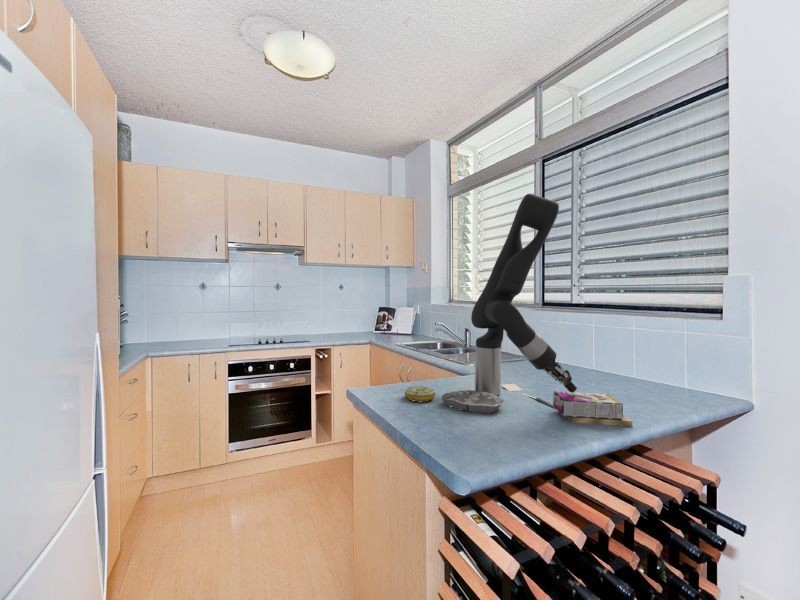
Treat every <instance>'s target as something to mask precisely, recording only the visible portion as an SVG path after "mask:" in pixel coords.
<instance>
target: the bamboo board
mask: <svg viewBox="0 0 800 600" xmlns="http://www.w3.org/2000/svg"><path fill="white" fill-rule="evenodd" d="M566 417H567V418H568V419H569V420H570V422H571V423H573V424H585V425H586V424H588V425H602V426H616V425H622V426H621V427H633V425H634V424H633V420H631V419H630V418H629V417H628V416H626V415H625V414H623V419H622V420H619V419H602V418H585V417H568V416H566Z"/></svg>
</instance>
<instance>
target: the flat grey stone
mask: <svg viewBox="0 0 800 600" xmlns="http://www.w3.org/2000/svg"><path fill="white" fill-rule="evenodd" d="M441 400H442V402H443V403H444V404H445V405H446V406H447V405H448V406H452V407H455V408H458V409H457V410H459V409H461V410H460V411H462V410H466V411H465V412H469V413H473V412H480V413H479V414H493V413H494V412H497V410H498V409H500V407H501V405H502V404H503V403H504V399H501V398H500V397H499V396H498V395H497V396H496V395H493V394H491V393H487V392H477V391H475V390H472V389H471V390H470V389H469V390H467V389H466V390H457V391H450V392H445V393H444V394H442V396H441ZM448 406H447V407H448ZM455 408H454V409H455Z"/></svg>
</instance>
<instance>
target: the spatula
mask: <svg viewBox="0 0 800 600" xmlns="http://www.w3.org/2000/svg"><path fill="white" fill-rule="evenodd" d="M501 387H502V388H504V389H505V390H506V391H508V392H517V391H520V392H521V391H523V389H522V388H521V387H519V386H518V385H517V384H514V383H507V384H506V383H504V384H501ZM523 395H524V396H526V397H529V398H532V399H535V400H536V401H538V402H540V403H542V404H544V405H545V406H548V407H549V408H552V409H554V410H556V411H558V410H557V409H556V408H555V407H554V406H553V404H552V403H549V402H547V401H545V400H543V399H541V398H540V397H539V398H538V397H535V396H533V395H529V394H527V393H523Z"/></svg>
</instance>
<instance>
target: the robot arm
mask: <svg viewBox="0 0 800 600" xmlns="http://www.w3.org/2000/svg"><path fill="white" fill-rule="evenodd" d="M559 211H560V205H559V203H558V202H556V201H554V200H552V199H549V198H545V197H543V196H539V195H536V194H532V193H526V194H525V195H524V196H523V197H522V199H521V200H520V203H519V206H518V208H517V210H516V212H515V215H514V218H513V222H512V224H511V227H510V229H509V232H508V235H507V238H506V239H505V242H504V244H503V245H502V249H501V251H500V252H499V255H498V256H497V259H496V261H495V263H494V265H493V268H492V270H491V273H490V276H489V277H488V280H487V282H486V284H485V286H484V288H483V291H482V292H481V294H480V296H479V298H478V299H477V300H476V302H475V305H474V306H473V308H472V311H471V318H470V319H471V324H472V325H473V326H474V327H475V328H477V329H482V330H483V329H487V331H486V333H484V334H483V335H481V336H479V337H477V338H476V339H475V365H474V391H477V392H487V393H491V394H493V395H496V396H497V397H498V396H499V395H501V388H502V383H501V382H502V381H501V379H502V374H501V373H502V344H503V339H504V331H505V332H506V337H507V338H508V339H509V340H510V341H511V342H512V344H513V345H515V347H516V348H517V349H518V351H520V353H521V354H522V355H523V357H524V358H526V360H528V362H529V363H530V364H531V365H532V366H533V367H534V368H535V369H536V370H542V371H544V372H545V373H546V374H548V375H549V376H550V377H552V379H554V381H556V382H558V383H559V384H561V385H563V386H564V387H565V389H566V390H567V392H571V393H574V392H576V391H577V389H578V387H577V386H576V385H575V384H574V383H573V382H572V380H573V378H572V376H571V373H570V371H569V370H567V369H566V370H565V369H564V368H563V366H562V365H561V363H559V362H558V361H556V359H557V353H556V351H555V350H554V349H553V348H552V347H551V346H550V345H549V344H548V343H547V341H545V340H544V338H542V336H540V335H539V334H538V333H537V331H535V330H534V328H532V326H531V325H529V324H528V323H527V322H526V320H525V318H524V317H523V315H522V314H521V312H520V311H519V309H518V308H517V307H516V306H515V305H514V304H513V303H512V302H513V301H514V298H515V297H516V296H518V295H519V294H520V293H521V292H522V290H523V287H524V285H525V284H526V280H527V278H528V276H529V272H530V270H531V268H532V266H533V264H534V261H535V260H536V258H537V256H538V254H539V253H540V251H541V250H542V247H543V245H544V244H545V242H546V239H547V238H548V236H549V234H550V232H551V230H552V228H553V226H554V224H555V222H556V220H557V217H558V214H559ZM523 226H524V227H527V228H529V229H530V228H531V229H532V230H535V231H537V233H535V236H534V238H533V239H532V240H531V241H530V242H529V243H528V244H526V245H525V246H524V247H523V243H522V228H523Z"/></svg>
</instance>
